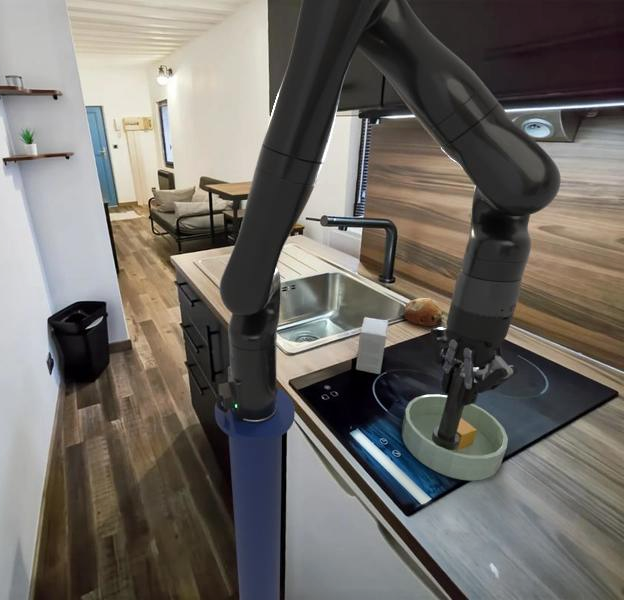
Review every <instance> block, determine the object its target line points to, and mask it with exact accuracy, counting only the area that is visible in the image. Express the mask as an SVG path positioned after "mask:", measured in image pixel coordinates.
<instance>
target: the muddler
mask: <svg viewBox="0 0 624 600" xmlns="http://www.w3.org/2000/svg"><path fill="white" fill-rule="evenodd" d="M464 379H465V374H464V373H463V367H462V368H456V369H455V370H454V372H453V376H452V380H451V384H450V388H449V391H448V394H446V396H447V399H446V403H445V406H444V410H443V414H442V418H441V422H440V425H439V426H438V427H435V428H434V430H433V433H432V440H433V442H434V443H435V444H436V445H438V446H440V447H442V448H445V449H447V450H454V449H456V448H457V447H458V444H459V441H460V437H459V435H458V434H457V429H458V426H459V423H460V419H461V416H462V412H463V409H464V406H461V405H460V404H458V399H459V396H460V392H461V388H462V385H464Z"/></svg>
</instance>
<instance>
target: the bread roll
mask: <svg viewBox="0 0 624 600" xmlns="http://www.w3.org/2000/svg"><path fill="white" fill-rule="evenodd" d="M403 316H404V318H405V319H406V320H407V321H409V322H410V323H413V324H415V325H417V326H418V325H420V326H423V327H432V326H437V325H439V324H441V322H442V321H443V320H444V319H445V317H444V311H443V309H442V307H441V306H440V304H439V303H438V302H437V301H436V300H434V299H431V298H428V297H418V298H414V299H412V300H410V301H409V302H408V303H406V305H405V307H404V309H403Z"/></svg>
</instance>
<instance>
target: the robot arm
mask: <svg viewBox="0 0 624 600" xmlns="http://www.w3.org/2000/svg"><path fill="white" fill-rule="evenodd" d="M356 50H358V51H359V52H361V53H362V54H363V55H364V56H365V57H366V58H367V59H368V60H369V61H370V62H371V63H372V64H373V65H374V66H375V67H376V69H378V70H379V71H380V73H382V75H383V76H384V77H385V78H386V80H387V81H388V82H389V83H390V84H391V86H392V87H393V89H394V90H395V91H396V93H397V94H398V95H399V96H400V98H401V99H402V101H403V102H404V103H405V105H406V107H408V110H410V111H411V113H412V115H413V116H414V117H415V119H416V120H417V121H418V122H419V124H420V125H421V126H422V127H423V129H424V130H425V131H426V132H427V133H428V135H429V136H430V137H431V138H432V140H433V141H434V142H435V144H436V145H438V147H439V148H440V149H441V150H442V152H444V153H445V154H446V156H448V157H449V158H450V159H451V160H452V161H454V162H455V163H457V164H458V166H460V167H461V169H462V170H463V172H464V173H465V174H466V175H467V177H468V179H470V181H471V182H472V183H473V185H475V186H474V189H473V190H474V191H473V196H472V203H471V204H472V205H471V213H470V227H469V229H470V230H469V236H468V241H467V243H466V245H465V246H466V247H465V251H464V254H463V259H462V262H461V266H460V270H459V274H458V276H457V279H456V281H455V284H454V288H453V292H452V297H451V300H450V306H449V310H448V314H447V318H446V323H445V324H446V326H440V327H435V328H432V329H430V337H431V343H432V348H433V355H434V362H435V363H436V364H437V365H440V366H442V371H443V375H442V381H441V387H442V388H441V391H442V392H443V393H445V395H448V391H449V388H450V384H451V380H452V376H453V372H454V370H455V369H456V368H463V373H464V374H465V379H464V385H462V388H461V392H460V396H459V399H458V404H460V405H461V406H466V405H470V404H474V405H475V403H476V402H477V398H478V395H479V394H483V393H485V392H488V391H489V392H490V391H494V390H495V389H497V388H498V387H500V386H502V385H503V384H504V383H505V382H506V381H508V380H509V379H511V378H512V377H514V376H516V374H518V368H517V367H516V366H515V365H511V364H510V365H509V364H507V362H506V361H505V360H504V359H503V358H502V355H503V350H502V344H503V342H504V340H505V339H506V337H507V335H508V333H509V329H510V326H511V323H512V320H513V317H514V313H515V310H516V307H517V304H518V301H519V297H520V294H521V287H522V280H523V276H524V274H525V269H526V267H527V264H528V260H529V258H530V255H531V251H532V239H531V237H530V234H529V223H530V217H531V215H533V214H536V213H539V212H540V211H542V210H544V209H546V208H547V207H548V206H549V205H551V203H552V202H553V201H554V200H555V198H556V197H557V195H558V193H559V191H560V188H561V180H562V179H561V173H560V170H559V168H558V166H557V164H556V162H555V161H554V160H553V158H552V157H551V156H550V155H549V154H548V153H547V151H546V150H544V149H543V147H542V146H541V145H539V143H538V142H536V141H535V140H534V139H533V138H532V137H531V136H530V135H529V134H528V133H527V132H526V131H524V130H523V128H521V127H520V126H519V125H518V124H516V122H514V121H513V120H512V119H511V118H510V116H509V115H508V113H507V112H506V111H505V108H504V107H503V106H502V104H501V103H500V102H499V100H498V99H497V98H496V96H495V95H494V94H493V93H492V92H491V90H490V89H489V88H488V87H487V86H486V84H485V83H484V82H483V81H482V80H481V78H480V77H479V76H478V74H476V73H475V71H474V70H472V68H471V67H470V66H468V64H467V63H465V61H463V60H462V59H461V58H460V57H459V56H457V55H456V54H455V53H454V52H453V51H452V50H451V49H449V48H448V46H445V44H444V43H443V42H442V41H440V40H439V39H438V38H437V37H436V36H435V35H434V34H433V33H431V32H430V31H429V29H428V28H427V27H426V26H425V25H424V24H423V23H422V21H421V20H420V19H419V18H418V16H417V15H416V14H415V12H414V11H413V9H412V8H411V6H410V4H409V3H408V1H407V0H301V3H300V9H299V13H298V19H297V23H296V29H295V33H294V38H293V43H292V48H291V52H290V56H289V59H288V64H287V67H286V70H285V73H284V76H283V79H282V82H281V84H280V88H279V90H278V93H277V96H276V99H275V102H274V105H273V109H272V112H271V115H270V117H269V122H268V124H267V128H266V131H265V134H264V137H263V140H262V144H261V147H260V151H259V154H258V157H257V161H256V164H255V168H254V172H253V177H252V181H251V185H250V188H249V191H248V194H247V195H248V196H247V199H246V203H245V207H244V212H243V215H242V216H243V217H242V221H241V225H240V229H239V232H238V235H237V238H236V242H235V244H234V246H233V249H232V251H231V254H230V256H229V259H228V261H227V264H226V266H225V268H224V271H223V273H222V275H221V278H220V280H219V296H220V299H221V301H222V304H223V305H224V306H225V308H226V309H227V311H229V312H230V313H231V316H230V320H229V323H228V326H227V337H228V338H227V339H228V351H229V366H228V367H227V381H228V382H223V383H218V395H219V397H218V398H217V400H216V402H217V403H216V402H215V405H216V404H217V407H218V408H219V409H220V410H221V411H223V412H224V413H226V412H227V411H228V410H227V409H230V408H232V411H233V413H234V415H235V417H236V419H237V421H238V422H242V421H244V422H248V423H262V422H265V421H268V420H269V419H271V418H272V417H273V416H274V415H275V413H276V410H277V399H276V390H277V395H278V389H277V388H278V385H277V360H278V359H277V357H278V355H277V349H278V348H277V345H278V344H277V343H278V341H277V336H278V327H279V323H280V315H281V314H280V313H281V285H282V284H281V283H282V282H281V281H282V280H281V274H280V270H279V268H278V263H279V260H280V257H281V254H282V251H283V249H284V246H285V245H286V242H287V241H288V238H289V237H290V235H291V233H292V232H293V230H294V228H295V227H296V224H297V223H298V221H299V219H300V217H301V215H302V213H303V211H304V210H305V209H306V206H307V204H308V201H309V199H311V195H312V193H313V192H314V191H313V190H314V188H315V186H316V183H317V182H318V178H319V176H320V173H321V170H322V168H323V166H324V162H325V159H326V157H327V154H328V151H329V147H330V143H331V139H332V136H333V132H334V128H335V123H336V118H337V115H338V114H337V112H338V108H339V103H340V98H341V95H342V94H341V93H342V89H343V85H344V82H345V79H346V76H347V72H348V70H349V67H350V65H351V62H352V59H353V57H354V55H355V53H356ZM442 350H443V351H442ZM491 363H492V366H491V368H490V369H489V367H490V364H491ZM488 372H489V374H488V375H487V376H485V375H486V374H487V373H488ZM221 402H222V403H223V405H224V407H223V406H222V405H221Z"/></svg>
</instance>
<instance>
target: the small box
mask: <svg viewBox="0 0 624 600" xmlns="http://www.w3.org/2000/svg"><path fill="white" fill-rule="evenodd" d="M388 327H389V320H386V319H385V320H384V319H378V318H372V317H367V316H364V317H363V320H362V325H361V328H360V333H359V339H358V346H357V347H358V349H357V355H356V356H357V357H356V365H355V370H357V371H361V372H362V371H363V372H366V373H371V374H377V375H381V372H382V365H383V359H384V352H385V348H386V347H385V346H386V341H387V335H388Z"/></svg>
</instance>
